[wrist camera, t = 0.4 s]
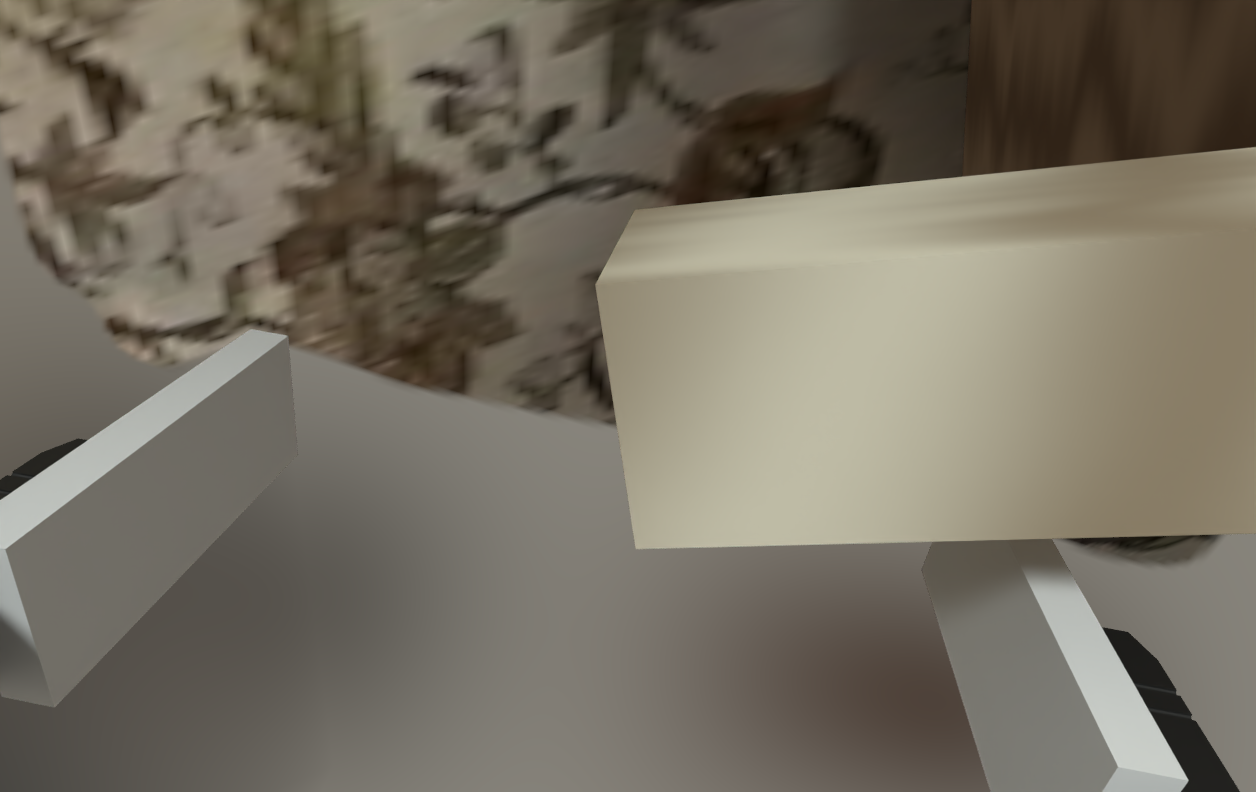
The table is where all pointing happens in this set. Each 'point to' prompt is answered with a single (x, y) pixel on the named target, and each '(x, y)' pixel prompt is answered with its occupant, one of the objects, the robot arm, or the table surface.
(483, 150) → the table surface
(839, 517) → the ash rail
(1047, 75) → the walnut stand
